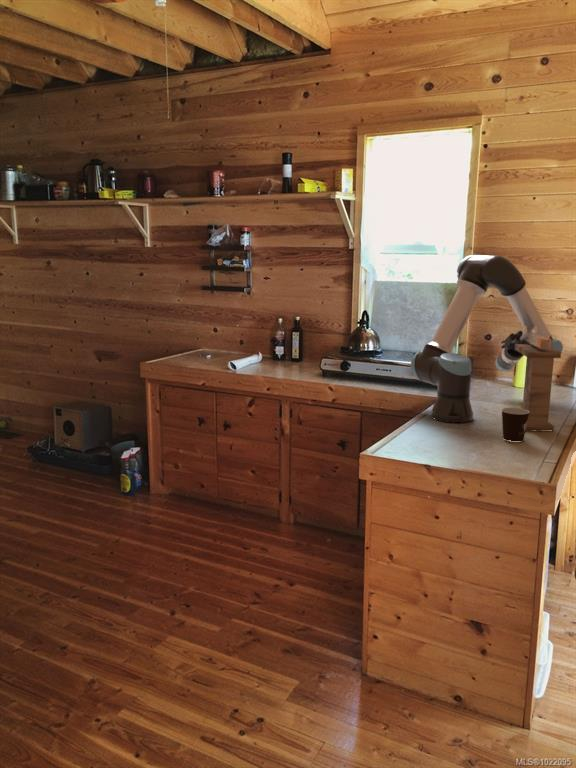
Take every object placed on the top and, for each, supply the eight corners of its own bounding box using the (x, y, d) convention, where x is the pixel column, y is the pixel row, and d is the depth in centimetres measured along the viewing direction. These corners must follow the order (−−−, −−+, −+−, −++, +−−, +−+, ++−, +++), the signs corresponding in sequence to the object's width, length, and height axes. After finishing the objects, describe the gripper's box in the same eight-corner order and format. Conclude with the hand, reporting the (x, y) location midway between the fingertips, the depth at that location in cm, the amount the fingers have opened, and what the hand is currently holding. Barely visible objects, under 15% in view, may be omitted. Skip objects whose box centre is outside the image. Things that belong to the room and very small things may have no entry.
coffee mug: (513, 445, 213) (515, 415, 210) (494, 438, 220) (496, 409, 218) (539, 440, 218) (541, 411, 216) (519, 433, 225) (521, 405, 223)
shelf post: (553, 431, 228) (561, 352, 221) (521, 430, 228) (527, 351, 222) (539, 418, 243) (546, 344, 237) (509, 418, 244) (515, 344, 238)
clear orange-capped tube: (550, 348, 221) (551, 339, 221) (539, 348, 222) (540, 339, 221) (528, 337, 247) (529, 329, 246) (518, 337, 247) (519, 328, 246)
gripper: (534, 361, 258) (554, 339, 236) (493, 360, 259) (509, 338, 237) (533, 343, 260) (553, 320, 238) (492, 342, 261) (508, 319, 239)
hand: (531, 329), depth 237 cm, fingers closed on clear orange-capped tube, 3 cm apart
